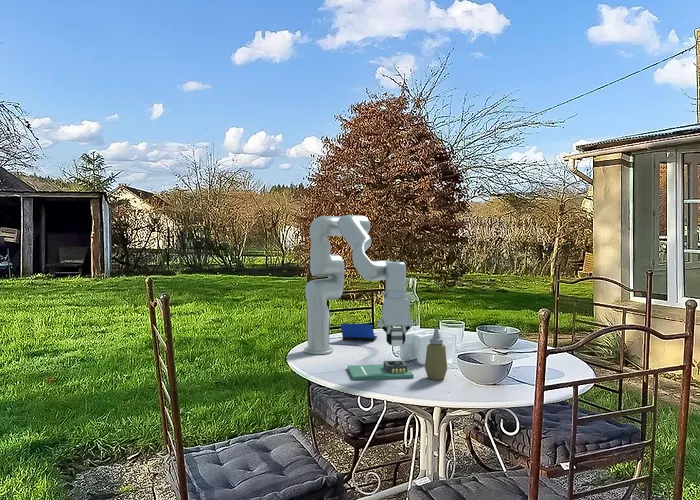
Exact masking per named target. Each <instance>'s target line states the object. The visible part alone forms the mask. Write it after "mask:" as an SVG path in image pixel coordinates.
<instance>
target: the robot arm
mask: <svg viewBox="0 0 700 500" xmlns="http://www.w3.org/2000/svg"><path fill="white" fill-rule="evenodd" d="M370 231H371V223H370V220H369V219H368V217H366V216H364V215H361V214H347V215H341V216H335V215H334V216H333V215H322V216H318V217H316V218H314V219H313V221H312V222H311V224H310V227H309V236H310V256H309V257H310V259H309V260H310V262H309V270H310V273H311V275H312V276H314V277H328V278H319V279H318V278H316V279H312V280H310V281H309V282H307V283H306V285H305V286H304V287H305V289H304V293H305V294H304V295H305V298H306V304H307V305H306V306H307V307H306V308H307V347H304V349H303V350H304V351H303V352H304V353H306V354H308V355H309V354H310V355H327V354H331V353H333V351H334V348H333V347H331V346H330V310H329V307H328V305H327V303H326V301H333V300H337V299H340V298H341V296H342V295H343V294H344V293H343V292H344V284H345V263H344V262H345V261H344V259H343V257H342V256H340V255H339V254H336V253H332V254H331V248H332V247H331V243H330V240H329V238H328V237H343V239H344V240H345V241H346V243H347V244H348V246H349V247H350V248H351V249H352V255H351V257H352V263H353V266H354V268H355V270H356V271H357V272H358V274H359V275H360V276H361V277H362V278H363V279H364V280H366V281H369V282H373V281H375V282H376V281H385V290H384V291H382V292H381V296H382V297H383V296H384V299H383V302H382V311H381V318H380V319H379V321H378V322H377V325H376V326H377V327H378V328H380V329H382V330H383V332H385V335H386V337H385V338H386V343H387V344H388V345H390V346H391V332H390V330H391V328H392V327H400V328H401V329H403V332H402V335H403V340H402V344H404V342H405V333H408V331H409V330H410V329H411V328H412V327H414V326H415V323H414V321H413V320H412V317H411V308H410V301H409V298H407V265H406V263H405V262H403V261H392V260H387V259H386V260H385V259H383V260H371V259H370V258H369V257H368V256H367V254H366V253H365V252H366V251H367V250H368V249H369V248H370V247H371V244H372V238H371V236H370V235H369V232H370Z"/></svg>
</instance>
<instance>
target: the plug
mask: <svg viewBox="0 0 700 500" xmlns="http://www.w3.org/2000/svg"><path fill="white" fill-rule="evenodd" d="M390 332H391V345H390V346H391V347H400V346H402V340H403V335H402V332H403V329H401V326H398V327H391V330H390Z"/></svg>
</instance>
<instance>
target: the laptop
mask: <svg viewBox="0 0 700 500" xmlns="http://www.w3.org/2000/svg"><path fill="white" fill-rule="evenodd" d="M340 329H341V336H342V341H353V342H357V341H358V342H369V343H370V342H372V343H373V342H375V341H376V339H378V336H377V335H375V333H374V325H372V324H371V323H369V324H367V323H341V324H340Z"/></svg>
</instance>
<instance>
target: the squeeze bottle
mask: <svg viewBox="0 0 700 500" xmlns="http://www.w3.org/2000/svg"><path fill="white" fill-rule="evenodd" d="M433 333H434V334H433V338H430V343H431V344H429V345H427V352H426V361H425V365H424V370H425V373H426V376H427V379H429V380H433V381H440V380H441V381H442V380H444V379H445V378H446V377H445V376H446V374H447V371H448V360H447V349H446V346H445V344H443V343H444V339H443V337H442V338H440V336H439V333H440V332H439V328H434V331H433Z"/></svg>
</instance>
